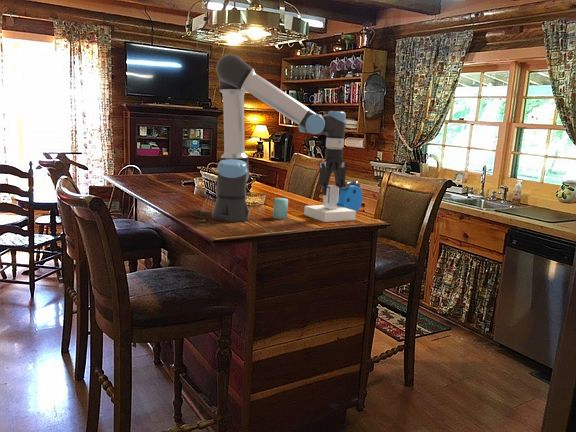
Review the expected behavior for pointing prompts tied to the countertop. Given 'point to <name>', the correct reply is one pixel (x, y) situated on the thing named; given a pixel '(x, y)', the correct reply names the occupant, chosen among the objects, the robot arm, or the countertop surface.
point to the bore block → (329, 213)
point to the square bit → (331, 198)
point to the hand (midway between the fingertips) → (330, 202)
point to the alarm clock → (350, 196)
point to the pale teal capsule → (280, 208)
